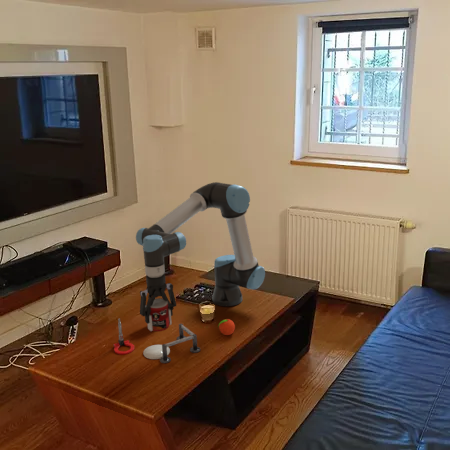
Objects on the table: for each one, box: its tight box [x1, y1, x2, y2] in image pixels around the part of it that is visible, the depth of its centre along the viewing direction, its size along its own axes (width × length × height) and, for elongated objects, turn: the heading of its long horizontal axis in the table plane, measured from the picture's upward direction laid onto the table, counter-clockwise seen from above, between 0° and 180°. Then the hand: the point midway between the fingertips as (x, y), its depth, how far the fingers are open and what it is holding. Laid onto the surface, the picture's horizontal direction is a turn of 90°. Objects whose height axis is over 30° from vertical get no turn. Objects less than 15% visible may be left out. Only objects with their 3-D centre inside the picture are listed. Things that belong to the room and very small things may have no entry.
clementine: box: [217, 318, 236, 336], centre depth 241 cm, size 8×7×7 cm
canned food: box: [150, 297, 170, 332], centre depth 220 cm, size 8×8×11 cm
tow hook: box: [113, 318, 135, 356], centre depth 231 cm, size 8×13×9 cm
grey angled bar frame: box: [159, 323, 202, 364], centre depth 230 cm, size 18×16×7 cm
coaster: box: [142, 344, 171, 360], centre depth 229 cm, size 11×11×1 cm
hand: (159, 326), depth 222 cm, fingers closed on canned food, 8 cm apart
